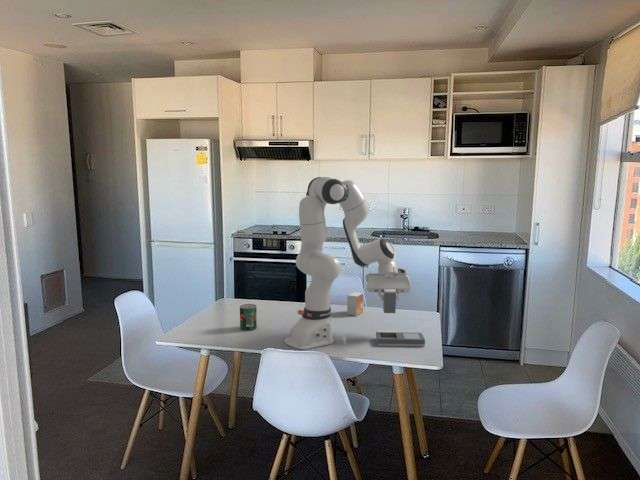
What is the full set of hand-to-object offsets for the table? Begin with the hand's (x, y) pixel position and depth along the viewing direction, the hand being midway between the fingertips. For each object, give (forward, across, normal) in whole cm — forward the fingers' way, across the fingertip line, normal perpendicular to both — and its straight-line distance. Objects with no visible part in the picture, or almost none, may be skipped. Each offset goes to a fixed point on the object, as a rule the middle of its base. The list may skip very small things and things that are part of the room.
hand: (389, 299), depth 219 cm
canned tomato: (+6, -65, +19) cm, 68 cm away
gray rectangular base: (+18, +4, +6) cm, 20 cm away
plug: (+4, 0, +4) cm, 6 cm away
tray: (+11, 0, +13) cm, 17 cm away
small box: (-12, -14, +37) cm, 41 cm away
